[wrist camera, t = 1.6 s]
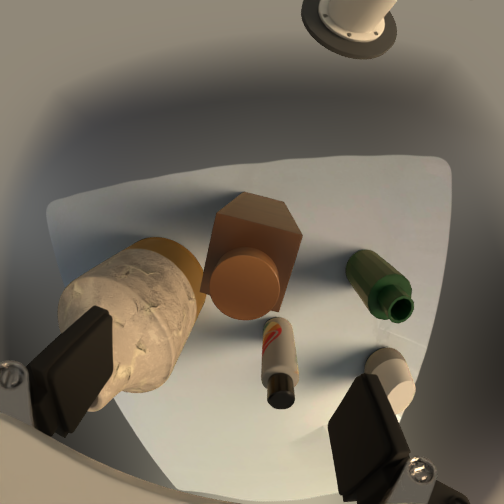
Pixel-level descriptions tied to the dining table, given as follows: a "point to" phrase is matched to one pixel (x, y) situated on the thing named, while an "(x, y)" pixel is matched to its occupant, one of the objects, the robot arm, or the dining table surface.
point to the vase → (140, 311)
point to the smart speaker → (392, 377)
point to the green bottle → (380, 286)
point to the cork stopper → (245, 284)
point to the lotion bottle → (279, 363)
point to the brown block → (255, 236)
